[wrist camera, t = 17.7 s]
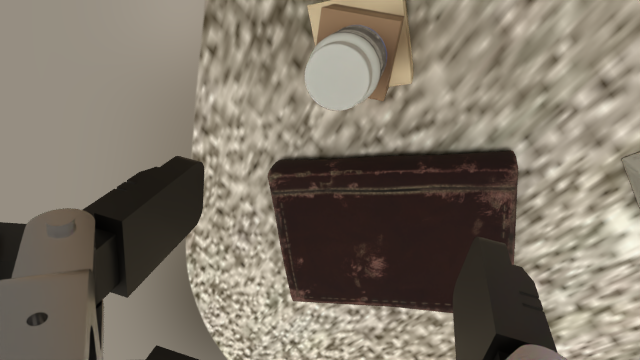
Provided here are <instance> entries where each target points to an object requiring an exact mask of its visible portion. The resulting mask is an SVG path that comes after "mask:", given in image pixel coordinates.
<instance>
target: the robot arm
mask: <svg viewBox="0 0 640 360" xmlns="http://www.w3.org/2000/svg"><path fill="white" fill-rule="evenodd" d="M203 189H204V166H203V163H202V162H199V161H196V160H192V159H188V158H184V157H181V156H175V157H174V158H172V159H171V160H169V161H168V162H167V163H165V164H164V165H162V166H161V167H154V168H151V169H148V170H145V171H141V172H139V173H137V174H136V175H134V176H133V177H131V178H130V179H128V180H127V182H124V183H122V184H121V185H119V186H118V187H117V189H113V190H112V191H110V192H109V193H107V194H106V195H104V196H103V197H101V198H100V199H98V200H97V201H95V202H94V203H92V204H91V205H89V206H88V207H86V208H85V209H83V210H79V209H71V208H70V209H69V208H67V209H56V210H52V211H48V212H45V213H42V214H40V215H38V216H36V217H34V218H33V219H31V220H30V221H29V222H28V223H27V224H17V223H2V222H0V360H103V343H104V303H103V299H104V298H105V297H106V295H108V294H109V292H112V293H115V294H118V295H121V296H124V297H129V295H130V294H131V293H132V292H133V291H134V290H135V289H136V288H137V287H138V286H139V285H140V284H141V283H142V282H143V281H144V280H145V278H147V277H148V276H149V274H150V273H151V272H152V271H153V270H154V269H155V268H156V267H157V266H158V265H159V264H160V263H161V262H162V261H163V260H164V259H165V258H166V257H167V256H168V255H169V254H170V252H171V251H172V250H173V249H174V248H175V247H176V246H177V245H178V244H179V243H180V242H181V241H182V240H183V239H184V238H185V237H186V236H187V235H188V234H189V233H190V232H191V231H192V229H193V228H194V227H195V226H196V225H197V223H198V221H199V219H200V217H201V214H202V209H203ZM538 298H539V295H538V292H537V289H536V286H535V283H534V281H533V280H532V279H531V278H530V277H529V275H528V274H527V273H526V272H525V271H524V269H523V268H522V267H519V266H515V265H512V264H511V260H510V257H509V253H508V249H507V246H506V244H504V243H500V242H497V241H493V240H489V239H485V238H482V237H476V238H475V239H474V240H473V242H472V244H471V247H470V249H469V252H468V254H467V256H466V259H465V261H464V264H463V266H462V269H461V271H460V273H459V276H458V278H457V281H456V284H455V288H454V293H453V316H454V332H455V349H456V360H567V359H566V358H564V357H563V356H561V355H560V354H558V353H557V350H556V347H555V344H554V341H553V338H552V335H551V332H550V329H549V326H548V323H547V320H546V316H545V313H544V312H543V307H542V304H541V301H540V300H539V299H538ZM146 360H198V359H195V358H192V357H189V356H187V355H184V354H181V353H177V352H175V351H172V350H169V349H166V348H163V347H160V346H156V347H155V348H154V349H153V351H152V352H151V353H150V354H149V356H148V357H147V359H146Z"/></svg>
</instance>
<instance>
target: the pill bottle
mask: <svg viewBox="0 0 640 360" xmlns="http://www.w3.org/2000/svg"><path fill="white" fill-rule="evenodd" d="M386 62H387V50H386V46H385V44H384V42H383V40H382V38H381V37H380V36H379V34H378V33H377V32H375V31H374V30H373V29H371V28H369V27H366V26H363V25H351V26H347V27H344V28H342V29H340V30H338V31H337V32H335V33H333V34H331V35H329V36H328V37H326V38H324V39H323V40H322V41H320V42H319V43H318V44H317V45H316V47H315V48H314V50H313V51H312V53H311V56H310V59H309V61H308V63H307V65H306V69H305V84H306V88H307V90H308V93H309V94H310V96H311V97H312V99H313V100H314V101H315V102H316V103H317V104H319V105H320V106H322V107H324V108H326V109H329V110H333V111H343V110H347V109H350V108H352V107H354V106H356V105H357V104H359V103H361V102H363V101H364V100H366V99H367V98H368V97H369V96H370V95H371V94H372V93H373V92H374V90H375V89H376V87H377V84H378V82H379V80H380V78H381V75H382V73H383V71H384V69H385V66H386Z"/></svg>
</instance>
